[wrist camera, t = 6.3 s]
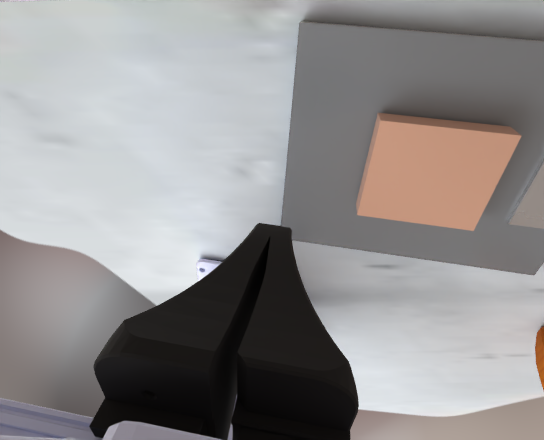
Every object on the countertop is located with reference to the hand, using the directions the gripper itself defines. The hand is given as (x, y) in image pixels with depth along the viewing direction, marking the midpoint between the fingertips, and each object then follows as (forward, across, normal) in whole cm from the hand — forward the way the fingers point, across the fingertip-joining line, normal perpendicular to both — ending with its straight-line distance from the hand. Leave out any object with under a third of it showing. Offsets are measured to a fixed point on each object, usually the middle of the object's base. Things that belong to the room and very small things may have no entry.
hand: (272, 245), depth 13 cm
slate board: (+10, -8, 0) cm, 13 cm away
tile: (+8, -4, 0) cm, 9 cm away
